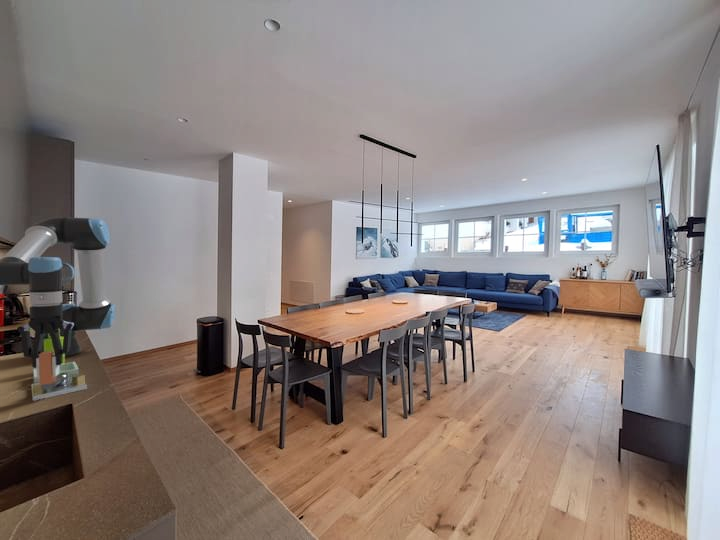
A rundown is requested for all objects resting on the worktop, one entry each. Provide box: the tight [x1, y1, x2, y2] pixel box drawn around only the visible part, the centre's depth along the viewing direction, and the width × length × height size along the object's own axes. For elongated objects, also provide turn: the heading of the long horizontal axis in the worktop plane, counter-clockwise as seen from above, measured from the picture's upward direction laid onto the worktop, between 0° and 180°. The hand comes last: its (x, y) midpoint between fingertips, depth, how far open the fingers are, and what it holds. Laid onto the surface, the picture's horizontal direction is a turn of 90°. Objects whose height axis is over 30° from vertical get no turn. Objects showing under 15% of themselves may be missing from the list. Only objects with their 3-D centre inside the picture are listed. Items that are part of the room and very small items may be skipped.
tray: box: [32, 361, 80, 384], centre depth 117 cm, size 12×12×4 cm
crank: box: [39, 351, 68, 390], centre depth 104 cm, size 11×4×13 cm, turn 24°
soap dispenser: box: [44, 329, 66, 364], centre depth 123 cm, size 6×7×20 cm
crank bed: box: [31, 373, 88, 402], centre depth 107 cm, size 14×13×4 cm
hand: (48, 375), depth 101 cm, fingers open, 3 cm apart
